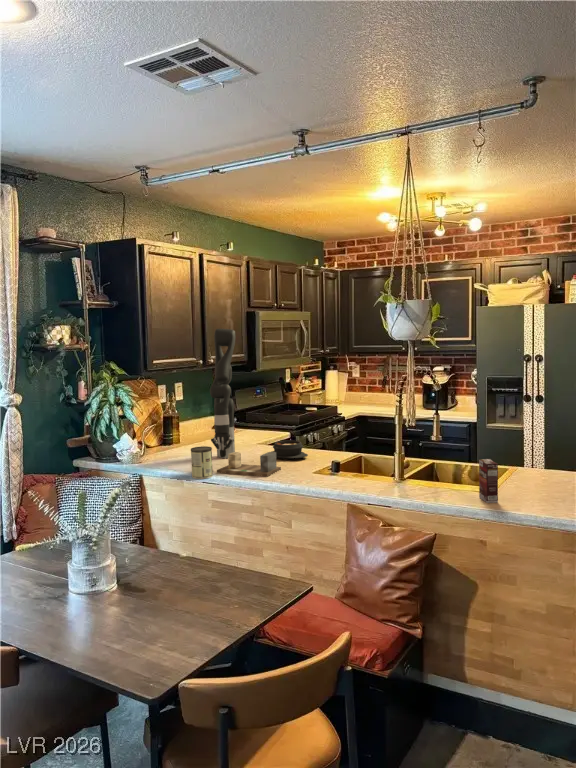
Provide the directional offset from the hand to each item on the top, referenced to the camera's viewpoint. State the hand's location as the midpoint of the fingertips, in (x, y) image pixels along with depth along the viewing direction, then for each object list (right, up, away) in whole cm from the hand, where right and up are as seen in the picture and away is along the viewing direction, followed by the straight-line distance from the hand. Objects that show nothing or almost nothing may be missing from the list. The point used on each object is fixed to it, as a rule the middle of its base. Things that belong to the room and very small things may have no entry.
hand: (223, 456), depth 315 cm
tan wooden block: (+5, -5, -4) cm, 8 cm away
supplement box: (+114, -9, -68) cm, 133 cm away
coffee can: (-9, -8, -14) cm, 18 cm away
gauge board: (+14, -7, -5) cm, 16 cm away
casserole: (+33, -4, +27) cm, 43 cm away
